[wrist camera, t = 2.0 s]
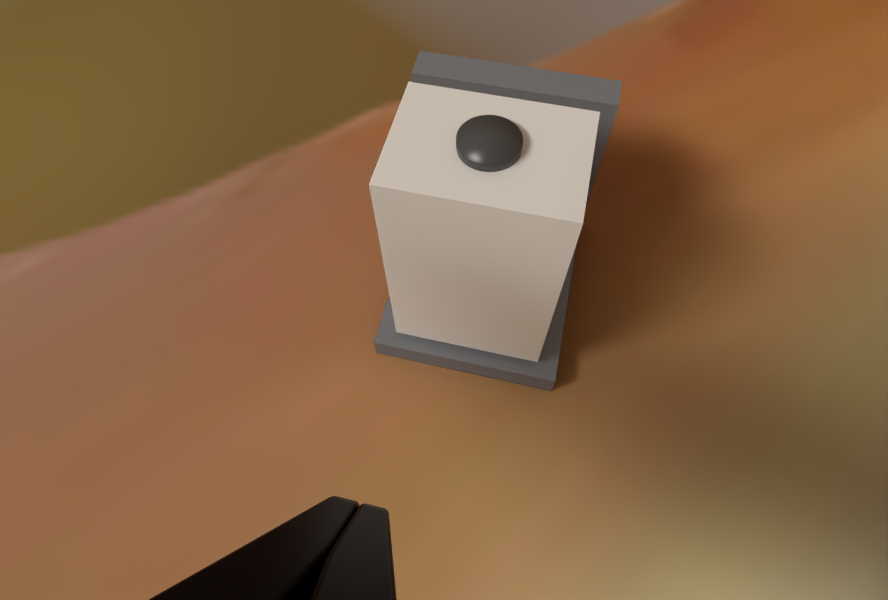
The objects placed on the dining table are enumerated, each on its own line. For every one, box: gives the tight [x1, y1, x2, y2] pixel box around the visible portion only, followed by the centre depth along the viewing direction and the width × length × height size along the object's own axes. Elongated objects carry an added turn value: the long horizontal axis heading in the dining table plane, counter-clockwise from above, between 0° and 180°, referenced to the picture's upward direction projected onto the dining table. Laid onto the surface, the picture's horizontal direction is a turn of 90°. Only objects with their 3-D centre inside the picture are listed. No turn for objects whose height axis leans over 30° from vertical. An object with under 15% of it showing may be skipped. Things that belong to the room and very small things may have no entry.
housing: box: [374, 51, 622, 391], centre depth 22 cm, size 8×7×8 cm
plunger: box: [369, 82, 600, 362], centre depth 20 cm, size 4×6×9 cm
